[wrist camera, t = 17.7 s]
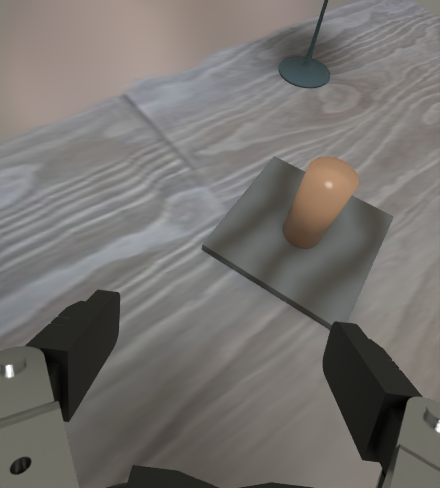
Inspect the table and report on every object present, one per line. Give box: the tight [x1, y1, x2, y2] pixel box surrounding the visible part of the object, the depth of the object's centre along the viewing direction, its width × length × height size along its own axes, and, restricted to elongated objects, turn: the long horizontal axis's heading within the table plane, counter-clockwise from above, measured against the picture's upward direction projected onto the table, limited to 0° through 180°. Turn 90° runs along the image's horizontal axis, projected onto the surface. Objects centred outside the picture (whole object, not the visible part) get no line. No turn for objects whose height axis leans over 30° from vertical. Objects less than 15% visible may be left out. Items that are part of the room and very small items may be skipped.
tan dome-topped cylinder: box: [283, 157, 359, 248], centre depth 36 cm, size 6×6×11 cm
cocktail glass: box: [279, 0, 330, 88], centre depth 52 cm, size 18×18×25 cm
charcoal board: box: [202, 156, 393, 330], centre depth 42 cm, size 20×20×2 cm
